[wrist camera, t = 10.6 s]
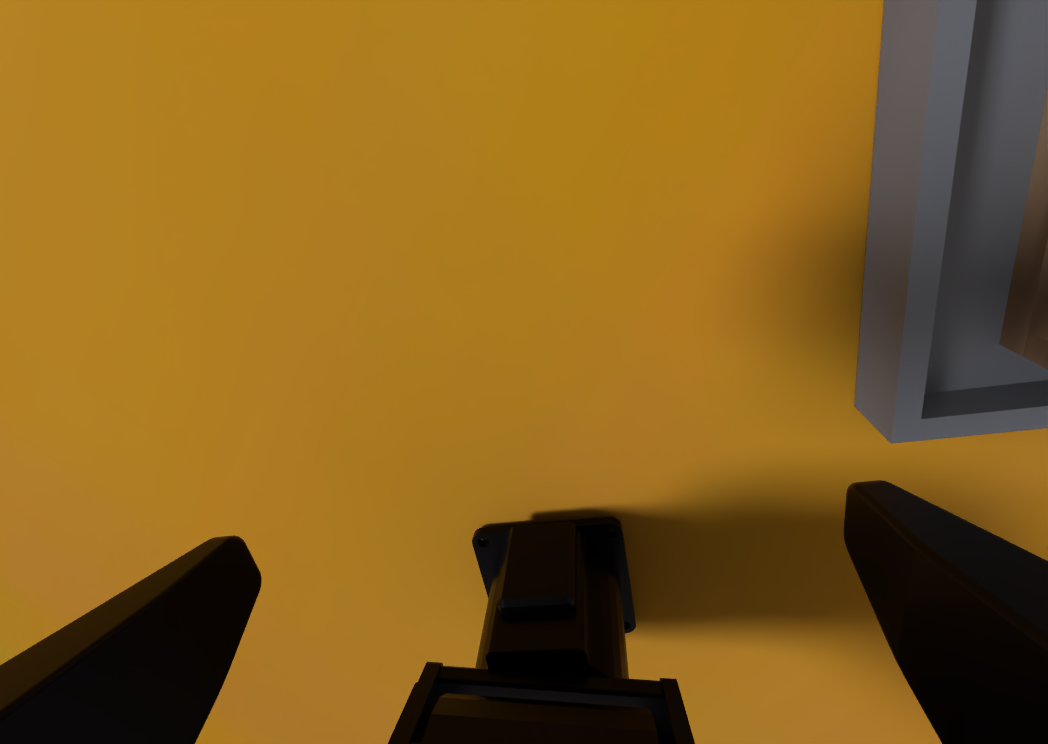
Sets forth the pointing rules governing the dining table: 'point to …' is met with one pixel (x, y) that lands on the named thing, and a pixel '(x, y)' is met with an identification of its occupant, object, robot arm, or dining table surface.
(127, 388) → the dining table surface
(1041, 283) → the caddy
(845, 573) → the dining table surface
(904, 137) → the tray
